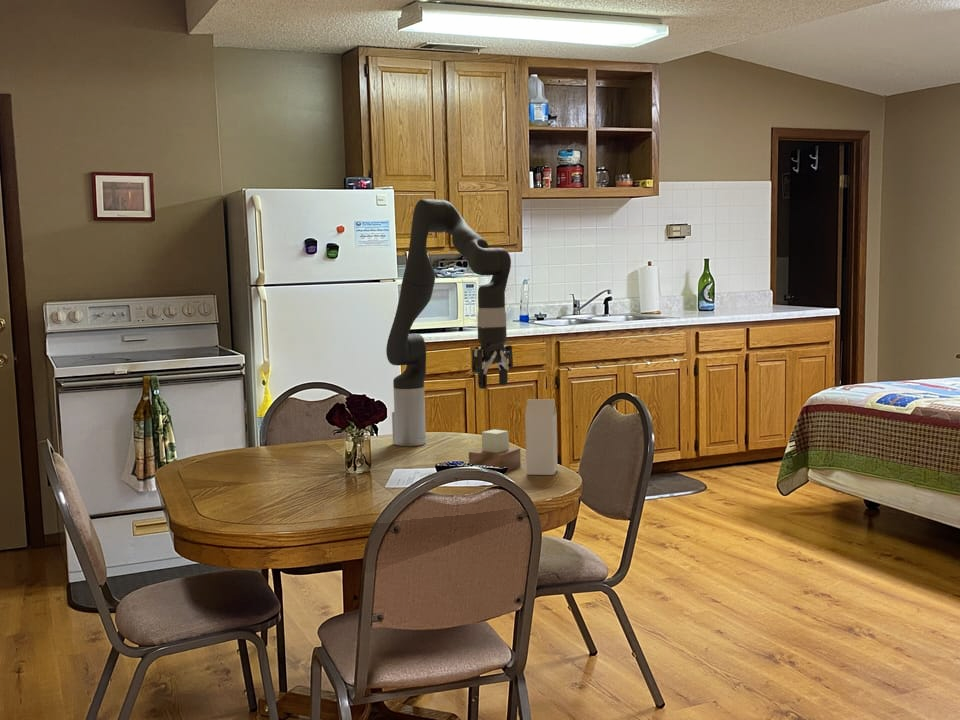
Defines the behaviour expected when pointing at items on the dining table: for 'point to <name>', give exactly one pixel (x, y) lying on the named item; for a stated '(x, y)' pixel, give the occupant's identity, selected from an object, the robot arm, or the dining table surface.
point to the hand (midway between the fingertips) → (493, 386)
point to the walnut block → (496, 458)
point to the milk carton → (541, 437)
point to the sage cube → (495, 441)
